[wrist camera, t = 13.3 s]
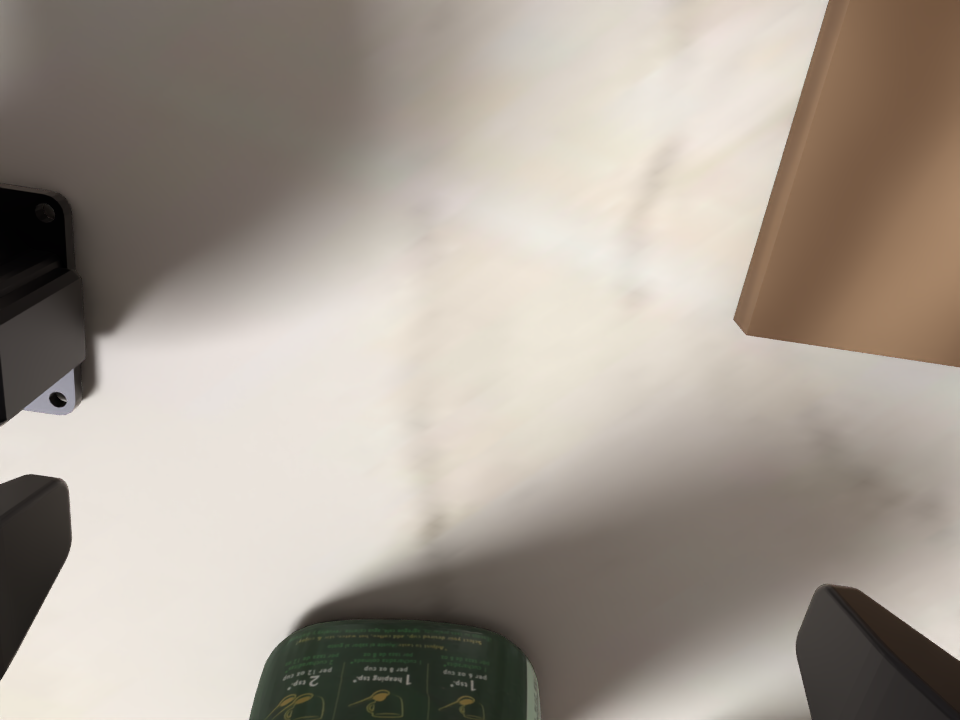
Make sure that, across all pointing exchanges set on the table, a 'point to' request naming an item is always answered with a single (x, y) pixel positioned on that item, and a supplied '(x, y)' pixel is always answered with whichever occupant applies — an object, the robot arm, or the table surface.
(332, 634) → the coffee jar
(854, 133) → the walnut board
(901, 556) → the table surface
